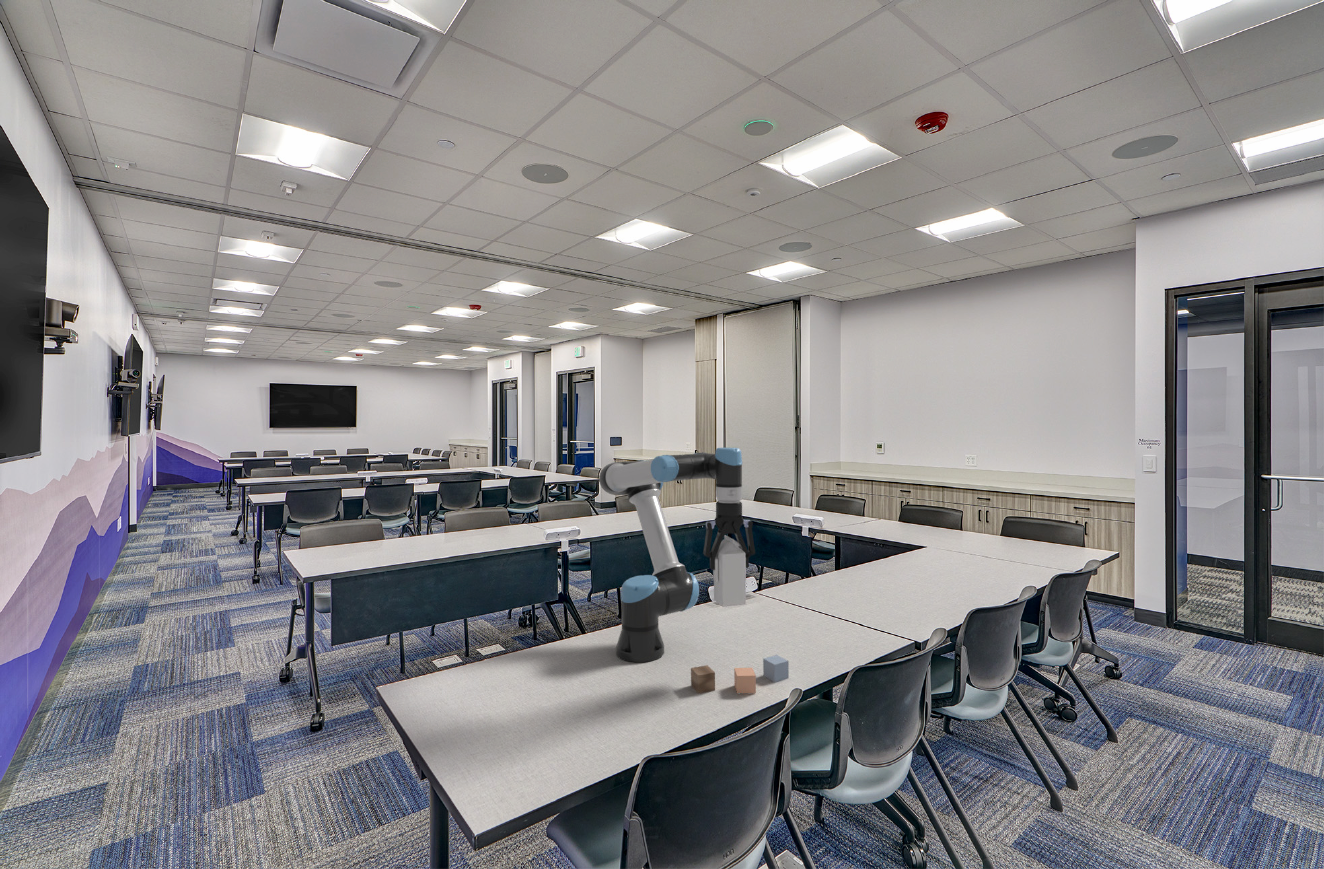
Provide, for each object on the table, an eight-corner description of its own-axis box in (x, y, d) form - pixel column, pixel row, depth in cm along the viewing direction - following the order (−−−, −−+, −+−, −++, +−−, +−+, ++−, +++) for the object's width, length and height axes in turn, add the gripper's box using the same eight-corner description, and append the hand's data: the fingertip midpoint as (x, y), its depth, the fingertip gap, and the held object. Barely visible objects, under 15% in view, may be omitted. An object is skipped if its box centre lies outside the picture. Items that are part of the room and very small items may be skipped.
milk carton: (722, 607, 163) (722, 540, 162) (713, 600, 170) (713, 535, 169) (746, 605, 165) (745, 539, 164) (736, 598, 171) (735, 534, 171)
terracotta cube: (737, 694, 154) (737, 676, 154) (734, 686, 159) (734, 668, 159) (755, 694, 154) (755, 675, 154) (752, 685, 159) (752, 667, 159)
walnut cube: (698, 693, 155) (698, 675, 155) (691, 685, 160) (690, 668, 159) (715, 690, 156) (715, 672, 156) (707, 683, 161) (707, 665, 161)
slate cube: (774, 682, 161) (774, 664, 161) (763, 675, 165) (763, 658, 165) (788, 678, 163) (788, 661, 163) (776, 671, 168) (776, 654, 168)
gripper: (697, 504, 161) (697, 585, 162) (767, 501, 164) (767, 581, 165) (691, 500, 168) (692, 578, 169) (758, 498, 172) (759, 574, 172)
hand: (729, 579), depth 167 cm, fingers closed on milk carton, 7 cm apart
